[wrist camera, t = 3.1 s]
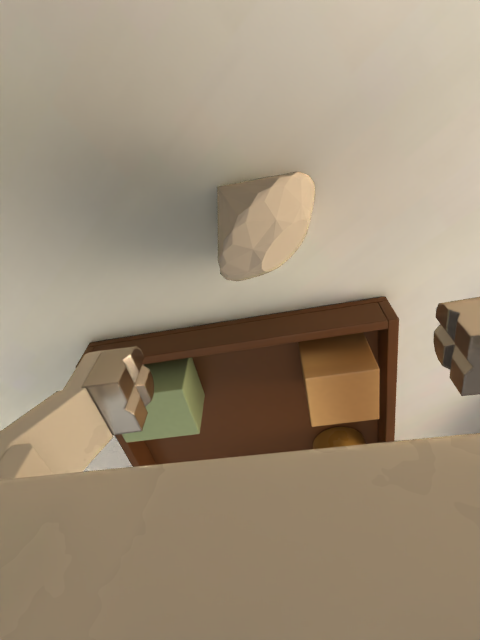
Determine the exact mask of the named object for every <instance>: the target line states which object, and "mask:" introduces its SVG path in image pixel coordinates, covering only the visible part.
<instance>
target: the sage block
mask: <svg viewBox="0 0 480 640" xmlns="http://www.w3.org/2000/svg"><path fill="white" fill-rule="evenodd" d="M143 365H144V366H145V367H147V368H148V369H150V371H151V374H152V376H153V381H154V395H153V398H152V401H151V402H150V403H149V404H148V405H147V406H146V407H145V408H146V410H147V412H148V414H147V417H146V420H145V423H144V427H143V430H142V431H140V432H133V433H126V434H122V436H123V438H124V439H125V441H126V442H136V441H144V440H152V439H161V438H169V437H177V436H186V435H194V434H199V433H200V427H201V420H202V412H203V405H204V397H205V394H204V391H203V388H202V385H201V382H200V379H199V377H198V374H197V371H196V368H195V365H194V362H193V359H192V357H191V358H184V359H178V360H171V361H164V362H157V363H150V364H143Z"/></svg>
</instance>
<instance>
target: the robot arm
mask: <svg viewBox="0 0 480 640" xmlns="http://www.w3.org/2000/svg"><path fill="white" fill-rule="evenodd" d="M436 318H437V320H438V321H439V323H440V325H439V326H438V328H437V329H436V330H435V331H434V347H435V352H436V355H437V357H438V360H439V361H440V363H441V365H442V366H444V367H446V368H448V369H450V370H451V371H450V379H451V380H452V382H453V383H454V385H455V386H456V388H457V389H458V391H459V392H460V394H461V396H466V395H477V394H480V297H476V298H469V299H463V300H457V301H451V302H444V303H439V304H438V307H437V309H436ZM144 358H145V357H144V355H143V353H142V351H141V349H140V348H138V347H137V346H135V347H127V348H119V349H111V350H104V351H95V352H89V353H87V354H85V355H84V356H83V358H82V360H81V361H80V363H79V365H78V366H77V368H76V369H75V371H74V373H73V374H72V376H71V377H70V379H69V381H68V382H67V384H66V386H65V387H64V389H63V390H62V391H57V392H55V393H54V394H53V395H51V396H50V397H48V398H47V399H46V400H44V401H43V402H41V403H40V404H38V405H37V406H36V407H34V408H33V409H31V410H30V411H29V412H27V413H26V414H24V415H23V416H21V417H20V418H19V419H17V420H16V421H14V422H13V423H12V424H10V425H9V426H7V427H6V428H4V429H3V430H2V431H0V640H480V433H475V434H465V435H454V436H444V437H434V438H423V439H413V440H402V441H392V442H382V443H371V444H361V445H350V446H340V447H330V448H320V449H310V450H300V451H290V452H279V453H269V454H259V455H249V456H239V457H229V458H219V459H209V460H198V461H188V462H178V463H168V464H157V465H147V466H137V467H126V468H116V469H106V470H96V471H85V472H82V471H83V470H84V469H85V468H86V467H87V466H88V464H89V463H90V462H91V461H92V460H93V459H94V458H95V457H96V456H97V454H98V453H99V452H100V451H101V450H102V449H103V448H104V447H105V446H106V444H107V443H108V442H109V441H110V440H111V439H112V438H113V435H119V434H126V433H133V432H140V431H142V430H143V427H144V423H145V420H146V417H147V414H148V412H147V410H146V408H145V407H146V406H147V405H148V404H149V403H150V402H151V401H152V398H153V395H154V381H153V376H152V374H151V371H150V369H148V368H147V367H145V366H144V365H143V364H142V363H143V361H144Z"/></svg>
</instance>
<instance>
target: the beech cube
mask: <svg viewBox="0 0 480 640" xmlns="http://www.w3.org/2000/svg"><path fill="white" fill-rule="evenodd" d="M298 348H299V354H300V361H301V368H302V375H303V382H304V388H305V393H306V399H307V405H308V410H309V416H310V422H311V426H312V427H316V426H324V425H333V424H341V423H350V422H358V421H367V420H375V419H379V367H378V364H377V362H376V360H375V358H374V355H373V353H372V351H371V349H370V346H369V344H368V342H367V339H366V337H365V335H364V333H363V332H362V333H355V334H348V335H342V336H335V337H328V338H321V339H314V340H307V341H301V342H298Z"/></svg>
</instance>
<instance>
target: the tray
mask: <svg viewBox="0 0 480 640" xmlns="http://www.w3.org/2000/svg"><path fill="white" fill-rule="evenodd" d="M398 331H399V318H398V317H397V315H396V313H395V312H394V310H393V308H392V307H391V305H390V303H389V302H388V300H387V298H386V297H379V298H372V299H366V300H360V301H353V302H347V303H340V304H334V305H328V306H321V307H315V308H309V309H302V310H296V311H289V312H283V313H277V314H270V315H264V316H257V317H251V318H245V319H238V320H232V321H226V322H219V323H213V324H206V325H200V326H194V327H187V328H181V329H175V330H168V331H162V332H155V333H149V334H143V335H136V336H130V337H123V338H117V339H111V340H104V341H98V342H92V343H89V345H88V346H87V348H86V350H85V352H84V354H83V355H82V357H81V359H80V360H79V362H78V364H77V366H78V365H79V363H80V361H81V360H82V358H83V356H84V355H85V354H87V353H89V352H95V351H104V350H111V349H119V348H127V347H135V346H137V347H138V348H140V349H141V351H142V353H143V355H144V357H145V358H144V361H143V363H142V364H150V363H157V362H164V361H171V360H178V359H184V358H191V357H192V359H193V362H194V365H195V368H196V371H197V374H198V377H199V379H200V382H201V385H202V388H203V391H204V394H205V397H204V405H203V412H202V420H201V427H200V433H199V434H194V435H186V436H177V437H169V438H161V439H152V440H144V441H136V442H126V441H125V439H124V438H123V436H122V434H119V435H115V436H116V438H117V440H118V442H119V443H120V445H121V447H122V449H123V450H124V452H125V454H126V456H127V457H128V459H129V461H130V462H131V464H132V466H133V467H137V466H147V465H157V464H168V463H178V462H188V461H198V460H209V459H219V458H229V457H239V456H249V455H259V454H269V453H279V452H290V451H300V450H310V449H313V442H314V440H315V438H316V437H317V436H318V435H319V434H320V433H321V432H323V431H325V430H327V429H330V428H334V427H348V428H352V429H355V430H357V431H358V432H360V433H361V434H362V436H363V437H364V440H365V443H366V444H371V443H382V442H392V441H394V433H395V407H396V382H397V356H398ZM362 332H363V333H364V335H365V337H366V339H367V342H368V344H369V346H370V349H371V351H372V353H373V355H374V358H375V360H376V362H377V364H378V367H379V419H375V420H367V421H358V422H350V423H341V424H333V425H324V426H316V427H312V426H311V422H310V416H309V410H308V405H307V399H306V393H305V388H304V382H303V375H302V368H301V361H300V354H299V348H298V342H301V341H307V340H314V339H321V338H328V337H335V336H342V335H348V334H355V333H362ZM77 366H76V368H77Z"/></svg>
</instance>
